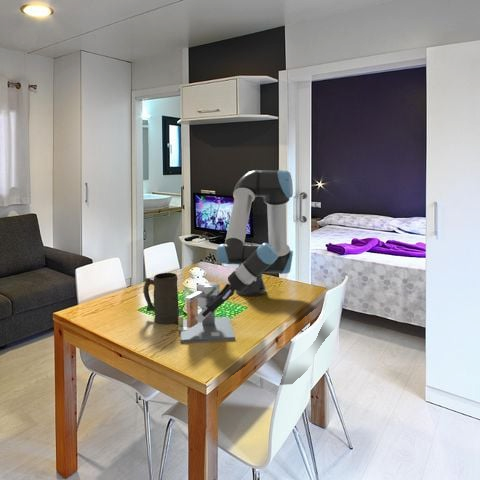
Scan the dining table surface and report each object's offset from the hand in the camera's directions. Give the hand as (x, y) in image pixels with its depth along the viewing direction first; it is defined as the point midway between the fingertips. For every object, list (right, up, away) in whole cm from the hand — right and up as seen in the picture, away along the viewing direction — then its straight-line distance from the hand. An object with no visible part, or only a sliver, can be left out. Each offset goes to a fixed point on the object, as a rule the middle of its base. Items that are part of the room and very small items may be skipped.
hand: (197, 319), depth 155 cm
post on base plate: (+3, -6, +7) cm, 10 cm away
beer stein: (-17, -4, +19) cm, 26 cm away
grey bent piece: (+1, -1, +7) cm, 7 cm away
